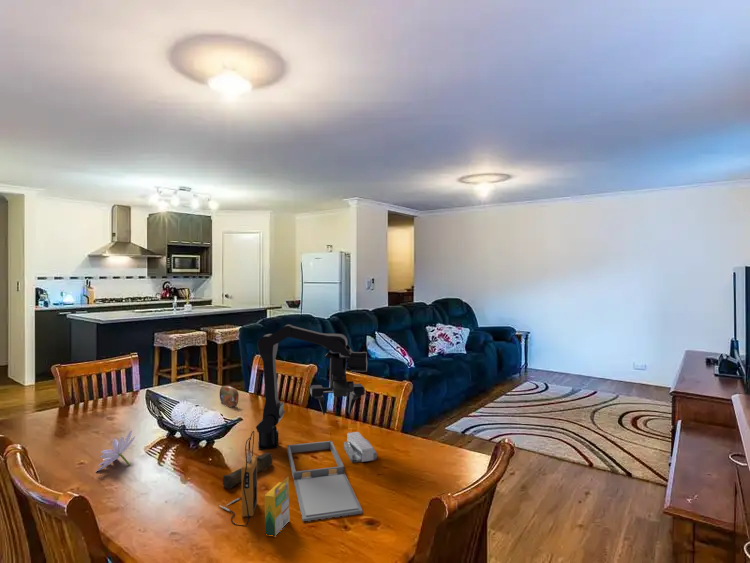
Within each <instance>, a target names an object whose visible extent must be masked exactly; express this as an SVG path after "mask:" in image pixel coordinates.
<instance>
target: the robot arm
mask: <svg viewBox="0 0 750 563" xmlns="http://www.w3.org/2000/svg"><path fill="white" fill-rule="evenodd" d="M287 338H290V339H291V338H292V339H296V340H300V341H304V342H308V343H313V344H316V345H320V346H322V347H324V348H325V349H327V350H329V351H328V352H327V353H326V354H325V355H324V359H329V387H323V385H321V384H312V385H311V386H310V388H309V390H310V391H309V393H310V395H311V398H314V399H315V400H318V402H319V405H320V408H321V412H322V414H323V416H325V413H326V410H325V397H324V394H333V396H334V398H335V397H336V398H339V397H345V398H346V397H348V395H349V397H348V398H349V400H348V414H349V415H350V414H352V411H353V408H354V405H355V403H356V401H357V400H358V398H362V396H364V395H366V388H365V387H364V385H363V384H361V383H354V381H353V380H347V369H348V370H350V372H366V373H367V372H368V352H367V351H362V352H361V351H353V349H352V348H351V347H350V345H349V344H348V338H347V337H346V335H344V334H343V333H333V332H332V333H326V332H325V333H323V332H318V331H314V330H311V329H306V328H303V327H298V326H294V325H292V324H286V325H284V326H283V327H282V328H281V329H279V330H277V331H276V332H273V333H268V334H267V333H266V334H264V335H263V336H261V337H260V338H259V339H258V340H257V349H258V354H259V356H260V358H261V360H262V364H263V365H262V366H263V379H264V380H263V381H264V382H263V383H264V384H263V385H264V398H265V401H264V402H265V403H264V406H263V410H262V411H263V412H262V420H261V421H260V422H259V423H258V424H257V425H256V426H255V429H256V432H257V433H258V442H257V447H258V450H266V449H267V450H268V449H276V448H278V445H279V430H278V428H277V425H278V424H279V423H280V421H281V419H282V418H283V417H284V414H285V413H286V411H285V408H284V407H285V406H284V404H285V402H284V401H282V402H281V401H280V399H279V397H278V396H279V393H278V378H277V364H276V357H277V353H278V348H279V343H280V342H281V341H283V340H285V339H287Z"/></svg>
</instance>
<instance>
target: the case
mask: <svg viewBox="0 0 750 563" xmlns="http://www.w3.org/2000/svg"><path fill="white" fill-rule="evenodd" d="M286 449H287V452H286V453H287V457H288V461H289V466H290V470H291V474H292V478H293V484H294V488H295V492H296V497H297V501H298V506H299V512H300V514H301V515H302V516H301V519H302V522H303V521H308V522H312V521H311V520H315V521H319V520H318V519H321V520H326V519H325V518H328V519H333V518H332V517H335V518H341V517H340V516H342V517H347V516H348V515H349V516H355V515H362V514H363V508H362V506H361V504H360V502H359V500H358V498H357V496H356V494H355V491H354V489H353V487H352V485H351V483H350V481H349V479H348V477H347V475H346V473H345V466H344V463H343V461H342V459H341V457H340V455H339V453H338V451H337V449H336V447H335V445H334V442H333V440H327V441H316V442H307V443H297V444H287V448H286ZM320 450H321V451H322V450H323V451H324V450H330V451H331V454H332V457H333V459H334V460H335V463H336V465H337V466H333V467H332V466H331V467H324V468H315V469H313V468H312V469H306V470H298V471H297V470H296V466H295V462H294V459H293V454H294V453H303V452H312V451H313V452H314V451H320ZM292 453H293V454H292Z"/></svg>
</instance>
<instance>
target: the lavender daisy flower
mask: <svg viewBox="0 0 750 563" xmlns="http://www.w3.org/2000/svg"><path fill="white" fill-rule="evenodd" d="M132 432H133V429H131V430H129V432H128V434H127V435H126V437H125V436H124V435H122V437H121V436H120V438H119V439H117V438H113V440H112V444H111V445H112V448H110V449H103V450H102V451H100V452H101V453H102V455H99V458H102V461H101V462H100V463H99V464H98V466H100V467H99V468H98V469H97V470H96V471H95V473H98V472H100V471H101V470H104V469H105V468H106V467H108V466H109V465H111V464H112V463H113V462H114V461H116V460H118V459H119V458H122V460H123V461H124V462H125V463H126V465H127V466H128V467H129V466H131V463H130V462H129V461H128V460H127V459H126V458H125V456H124V455H123V454H124V452H125V451H126V450H128V448H129V447H130V446H131V444H132V443H133V441H134V440H135V438H136V436H135V435H134V436H132ZM131 436H132V438H131ZM97 471H98V472H97Z"/></svg>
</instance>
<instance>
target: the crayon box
mask: <svg viewBox="0 0 750 563" xmlns="http://www.w3.org/2000/svg"><path fill="white" fill-rule="evenodd" d="M289 483H290V477H289V475H288V476H287V477H285V479H284V480H283V481H282V482H281V481H278V482H277V484H276V485H274V486H273V487H272V488H271V489H270V490H269V491H268V492H267V493H265V495H264V531H265V533H264V535H265V534H267V535H273V536H276V535H277V534H278V533H279V532H280V533H281V531H283V529H284V528H285V527H286V526H287V525H288V524H289V523H290V487H289V486H290V484H289ZM288 522H289V523H288ZM287 523H288V524H287ZM286 524H287V525H286ZM285 525H286V526H285ZM284 526H285V527H284ZM283 527H284V528H283ZM282 528H283V529H282ZM280 530H281V531H280ZM280 533H279V534H280ZM279 534H278V535H279ZM278 535H277V536H278ZM277 536H276V537H277Z"/></svg>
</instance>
